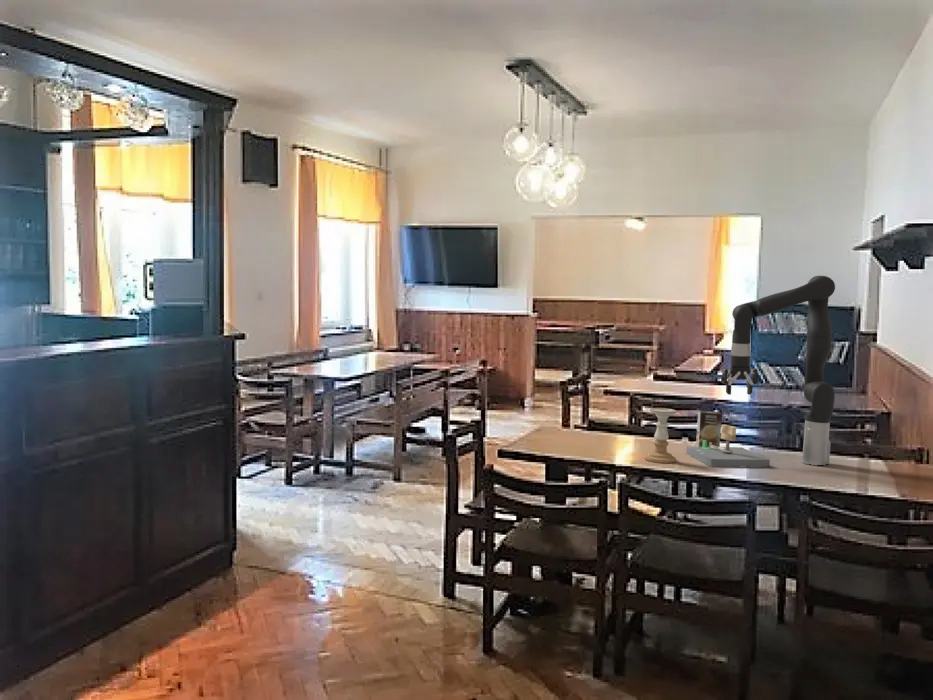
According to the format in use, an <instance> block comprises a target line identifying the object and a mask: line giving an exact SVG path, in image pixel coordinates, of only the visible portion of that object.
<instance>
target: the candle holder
mask: <svg viewBox="0 0 933 700" xmlns="http://www.w3.org/2000/svg"><path fill="white" fill-rule="evenodd" d="M649 412H650V414H651V413H652V414H655V416H656V417H657V422H655V426H656V430H655V433H654V435H653V437H654V439H655V440H654V441H653V444H654V451H649V453H647V454H645V455H644V460H645V461H648V462H651V463H659V464H672V463H675V462H676V461H677V457H675V456H674V455H672V453H670V452H668V450H667V447H668V446H669V442H668V439H669V437H670V436H669V433H668V427H669V425H670V424H669V423H668V418H670V416H671V415H676V414H677V410H675V409H672V408H665V407H652V408H649Z"/></svg>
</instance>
